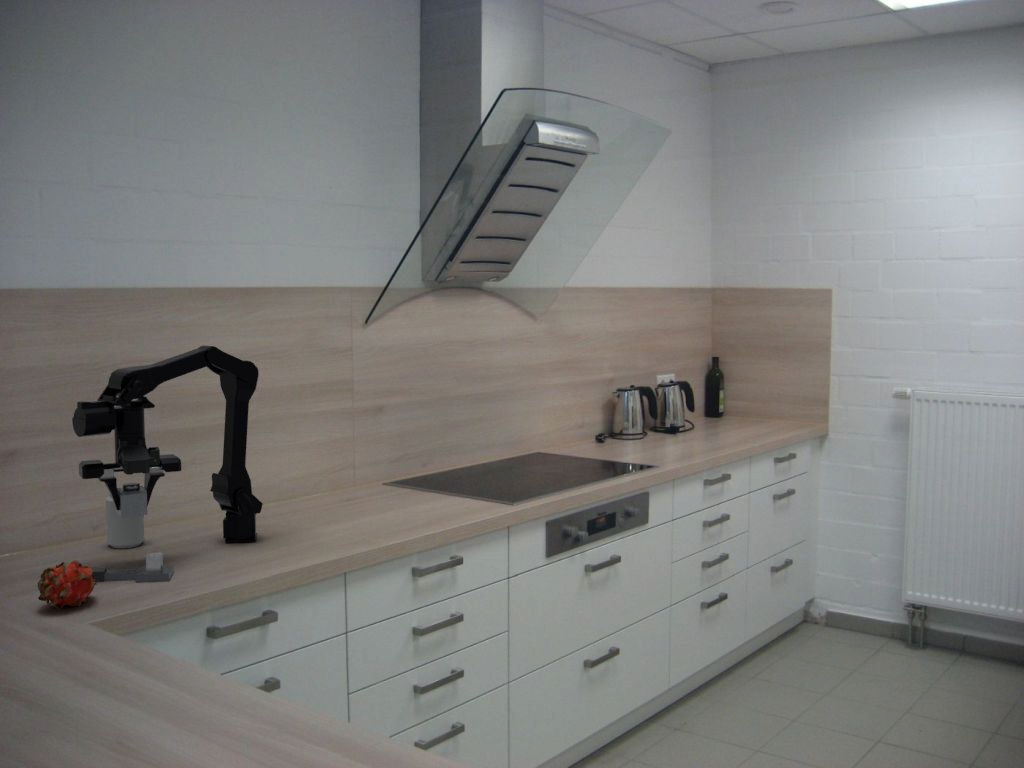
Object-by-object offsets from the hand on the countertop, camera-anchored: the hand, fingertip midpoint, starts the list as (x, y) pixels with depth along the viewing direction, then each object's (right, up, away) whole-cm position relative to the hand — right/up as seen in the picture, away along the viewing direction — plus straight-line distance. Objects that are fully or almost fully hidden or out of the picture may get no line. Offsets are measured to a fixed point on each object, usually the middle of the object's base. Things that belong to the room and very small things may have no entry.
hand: (131, 508), depth 202 cm
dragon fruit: (-1, -14, -26) cm, 30 cm away
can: (-7, -10, +14) cm, 18 cm away
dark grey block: (0, -1, 0) cm, 1 cm away
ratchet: (+1, -12, -11) cm, 16 cm away
